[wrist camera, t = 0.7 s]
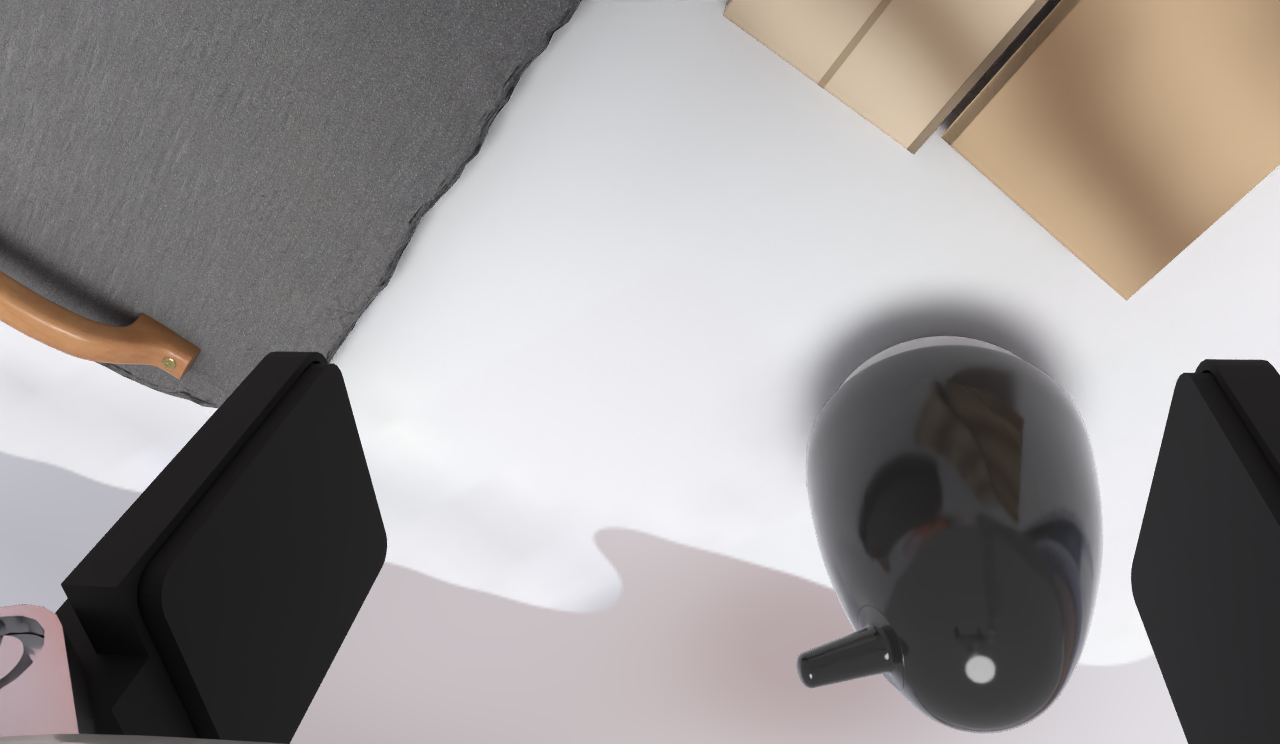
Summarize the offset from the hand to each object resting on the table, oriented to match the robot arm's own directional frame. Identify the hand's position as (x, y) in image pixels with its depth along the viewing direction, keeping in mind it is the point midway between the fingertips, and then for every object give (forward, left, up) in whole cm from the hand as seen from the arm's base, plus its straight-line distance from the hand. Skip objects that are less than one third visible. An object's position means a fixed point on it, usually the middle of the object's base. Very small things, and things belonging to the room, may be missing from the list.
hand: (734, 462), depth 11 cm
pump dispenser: (+10, +15, -26) cm, 31 cm away
